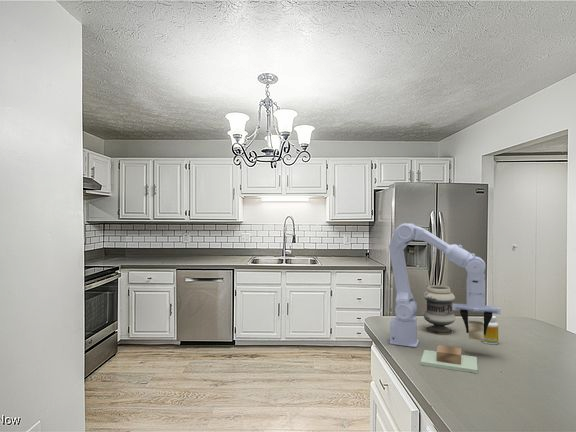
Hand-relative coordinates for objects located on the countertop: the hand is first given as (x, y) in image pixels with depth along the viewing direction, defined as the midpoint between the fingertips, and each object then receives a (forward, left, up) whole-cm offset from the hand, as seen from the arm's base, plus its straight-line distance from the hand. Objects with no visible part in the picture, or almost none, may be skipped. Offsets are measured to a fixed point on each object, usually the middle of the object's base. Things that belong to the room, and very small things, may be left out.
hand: (475, 333), depth 129 cm
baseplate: (-8, -12, -7) cm, 16 cm away
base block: (-8, -12, -7) cm, 16 cm away
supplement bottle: (+5, +16, -7) cm, 18 cm away
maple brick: (0, 0, -2) cm, 2 cm away
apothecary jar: (-13, +24, -7) cm, 28 cm away
